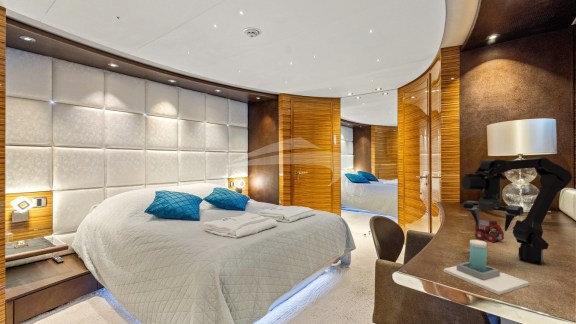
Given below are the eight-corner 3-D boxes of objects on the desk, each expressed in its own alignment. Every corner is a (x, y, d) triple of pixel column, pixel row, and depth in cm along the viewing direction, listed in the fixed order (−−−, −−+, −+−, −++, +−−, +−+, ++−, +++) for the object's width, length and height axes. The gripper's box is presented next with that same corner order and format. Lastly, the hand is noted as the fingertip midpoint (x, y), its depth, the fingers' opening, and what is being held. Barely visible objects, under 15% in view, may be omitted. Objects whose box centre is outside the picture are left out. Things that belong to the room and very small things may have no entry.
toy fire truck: (499, 244, 126) (499, 223, 126) (471, 237, 137) (471, 218, 137) (506, 242, 129) (506, 221, 129) (478, 235, 140) (478, 216, 140)
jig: (471, 264, 101) (471, 257, 101) (528, 285, 85) (529, 276, 85) (443, 271, 95) (443, 263, 95) (499, 295, 79) (499, 285, 79)
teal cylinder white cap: (485, 271, 93) (485, 241, 93) (487, 277, 89) (487, 245, 88) (468, 268, 95) (469, 238, 95) (470, 273, 91) (470, 242, 91)
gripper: (457, 189, 108) (457, 226, 108) (516, 194, 93) (515, 237, 93) (468, 187, 115) (467, 222, 115) (524, 191, 100) (523, 232, 100)
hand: (491, 228), depth 106 cm, fingers open, 9 cm apart
